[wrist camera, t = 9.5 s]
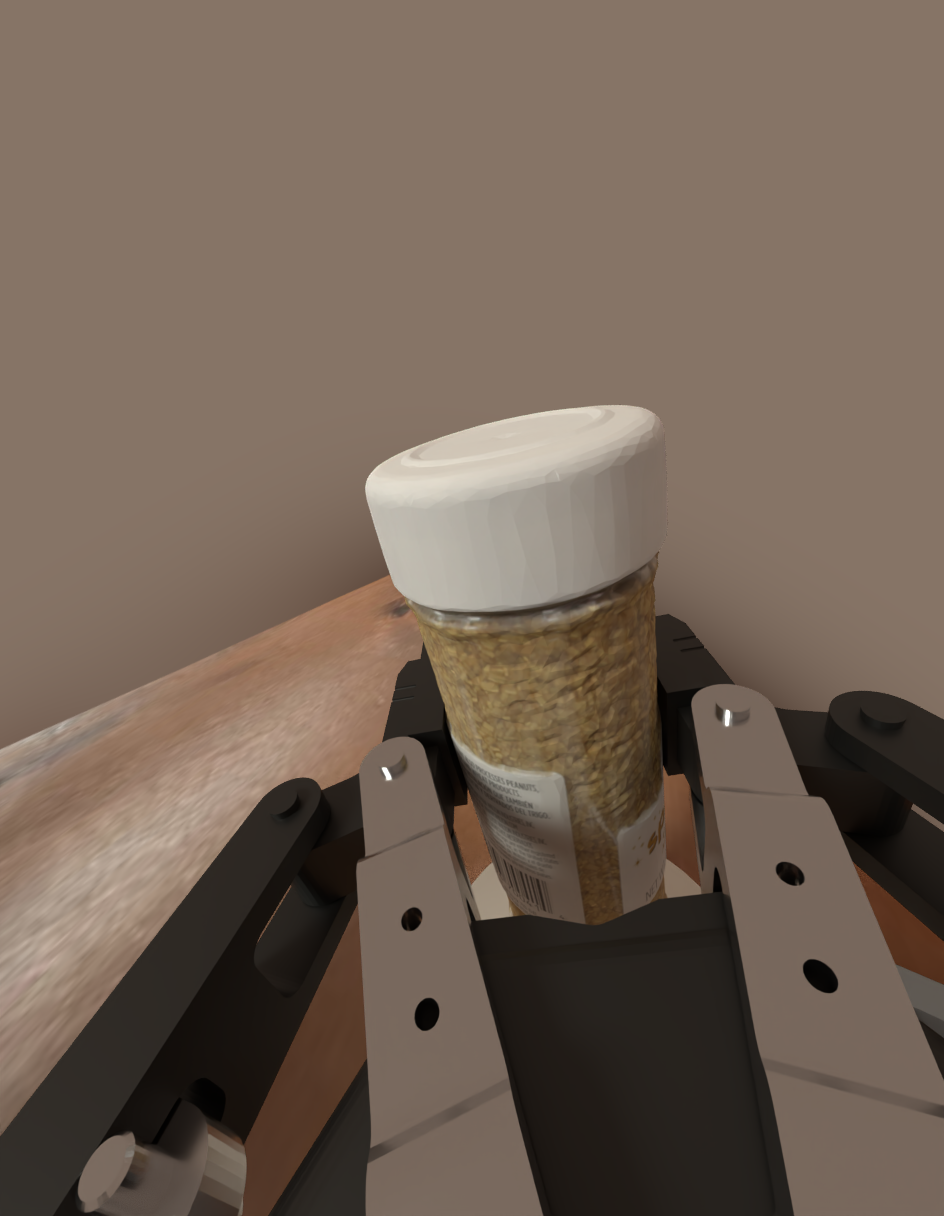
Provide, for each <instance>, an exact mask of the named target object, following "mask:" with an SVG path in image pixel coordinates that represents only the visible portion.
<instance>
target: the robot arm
mask: <svg viewBox="0 0 944 1216" xmlns="http://www.w3.org/2000/svg"><path fill="white" fill-rule="evenodd" d="M655 637H656V651H657V657H656V665H657V695H658V696H657V703H658V706H659V710H660V715H661V722H662V752H663V766H664V768H665V770H666V772H667V774H668V776H670V775H677V774H684V775H685V777H686V779H687V781H688V783H689V785H690V791H689V800H690V808H691V815H692V823H693V830H694V838H695V846H696V853H697V861H698V868H699V876H700V885H701V894H698V895H689V896H681V897H672V898H664V899H658V900H656V901H654V902H651V903H649V904H647V905H644V906H642V907H640V908H637V909H635V910H633V911H631V912H628V913H626V914H624V915H621V916H619V917H617V918H615V919H612V920H610V921H608V922H605V923H603V924H600V925H587V924H581V923H575V922H569V921H564V920H558V919H552V918H546V917H540V916H534V915H520V916H512V917H503V918H495V919H486V920H481V917H480V914H479V911H478V907H477V904H476V901H475V897H474V894H473V890H472V887H471V883H470V880H469V877H468V873H467V870H466V866H465V863H464V859H463V856H462V853H461V849H460V846H459V842H458V839H457V835H456V832H455V829H454V827H453V824H454V806H460V805H467V790H468V787H467V784H466V781H465V778H464V775H463V772H462V769H461V766H460V763H459V760H458V757H457V754H456V751H455V748H454V745H453V742H452V739H451V736H450V732H449V729H448V726H447V723H446V717H445V704H444V702H443V699H442V696H441V693H440V690H439V687H438V684H437V680H436V676H435V673H434V671H433V668H432V665H431V662H430V659H429V656H428V653H427V650H426V647H425V644H424V642H423V647H422V653H421V659H418V660H413V661H408V662H407V664H406V665H405V666H404V668H403V669H402V670H401V671H400V673H399V674H398V677H397V681H396V686H395V691H394V694H393V698H392V701H393V702H392V703H391V707H390V711H389V715H388V720H387V724H386V728H385V732H384V737H383V741H382V743H380V744H379V745H377V746H376V747H374V748H373V749H372V750H371V751H370V752H369V753H368V754H367V755H366V756H365V758H364V760H363V761H362V763H361V766H360V770H359V773H358V774H357V775H355V776H353V777H351V778H349V779H347V780H344V781H342V782H340V783H337V784H335V785H333V786H331V787H328V788H326V789H324V790H321V788H320V786H319V785H318V783H317V782H316V781H314V780H312V779H310V778H296V779H292V780H289V781H286V782H284V783H282V784H280V785H278V786H277V787H275V788H274V789H272V790H271V791H270V792H269V793H267V794H266V795H265V796H264V797H263V798H262V800H261V801H260V802H259V803H258V804H257V806H256V807H255V808H254V810H253V811H252V812H251V813H250V815H249V816H248V817H247V819H246V820H245V821H244V822H243V824H242V825H241V826H240V828H239V829H238V830H237V831H236V833H235V834H234V835H233V837H232V838H231V839H230V841H229V842H228V843H227V844H226V846H225V847H224V848H223V850H222V851H221V852H220V853H219V855H218V856H217V857H216V859H215V860H214V861H213V862H212V864H211V865H210V866H209V868H208V869H207V870H206V872H205V873H204V874H203V875H202V877H201V878H200V879H199V881H198V882H197V883H196V884H195V886H194V887H193V888H192V890H191V891H190V892H189V893H188V895H187V896H186V897H185V899H184V900H183V901H182V903H181V904H180V905H179V906H178V908H177V909H176V910H175V912H174V913H173V914H172V915H171V917H170V918H169V919H168V921H167V922H166V923H165V924H164V926H163V927H162V928H161V930H160V931H159V932H158V934H157V935H156V936H155V937H154V939H153V940H152V941H151V943H150V944H149V945H148V946H147V948H146V949H145V950H144V952H143V953H142V954H141V956H140V957H139V958H138V959H137V961H136V962H135V963H134V965H133V966H132V967H131V968H130V970H129V971H128V972H127V974H126V975H125V976H124V977H123V979H122V980H121V981H120V983H119V984H118V985H117V987H116V988H115V989H114V990H113V992H112V993H111V994H110V996H109V997H108V998H107V999H106V1001H105V1002H104V1003H103V1005H102V1006H101V1007H100V1008H99V1010H98V1011H97V1012H96V1014H95V1015H94V1016H93V1018H92V1019H91V1020H90V1021H89V1023H88V1024H87V1025H86V1027H85V1028H84V1029H83V1030H82V1032H81V1033H80V1034H79V1036H78V1037H77V1038H76V1039H75V1041H74V1042H73V1043H72V1045H71V1046H70V1047H69V1049H68V1050H67V1051H66V1052H65V1054H64V1055H63V1056H62V1058H61V1059H60V1060H59V1061H58V1063H57V1064H56V1065H55V1067H54V1068H53V1069H52V1070H51V1072H50V1073H49V1074H48V1076H47V1077H46V1078H45V1080H44V1081H43V1082H42V1083H41V1085H40V1086H39V1087H38V1089H37V1090H36V1091H35V1092H34V1094H33V1095H32V1096H31V1098H30V1099H29V1100H28V1101H27V1103H26V1104H25V1105H24V1107H23V1108H22V1109H21V1111H20V1112H19V1113H18V1114H17V1116H16V1117H15V1118H14V1120H13V1121H12V1122H11V1123H10V1125H9V1126H8V1127H7V1129H6V1130H5V1131H4V1132H3V1134H2V1135H1V1136H0V1216H242V1211H243V1194H244V1188H245V1182H246V1170H247V1166H246V1154H245V1149H244V1146H243V1145H244V1143H245V1141H246V1139H247V1137H248V1135H249V1133H250V1131H251V1128H252V1126H253V1124H254V1122H255V1120H256V1118H257V1116H258V1114H259V1111H260V1109H261V1107H262V1105H263V1103H264V1101H265V1099H266V1097H267V1094H268V1092H269V1090H270V1088H271V1086H272V1084H273V1082H274V1080H275V1078H276V1075H277V1073H278V1071H279V1069H280V1067H281V1065H282V1063H283V1061H284V1058H285V1056H286V1054H287V1052H288V1050H289V1048H290V1046H291V1044H292V1041H293V1039H294V1037H295V1035H296V1033H297V1031H298V1029H299V1027H300V1024H301V1022H302V1020H303V1018H304V1016H305V1014H306V1012H307V1010H308V1008H309V1005H310V1003H311V1001H312V999H313V997H314V995H315V993H316V991H317V988H318V986H319V984H320V982H321V980H322V978H323V976H324V974H325V971H326V969H327V967H328V965H329V963H330V961H331V959H332V957H333V954H334V952H335V950H336V948H337V946H338V944H339V942H340V940H341V938H342V935H343V933H344V931H345V929H346V927H347V925H348V923H349V921H350V918H351V916H352V914H353V912H354V910H355V908H356V906H357V904H358V910H359V927H360V944H361V961H362V978H363V995H364V1012H365V1029H366V1046H367V1059H366V1061H365V1062H364V1064H363V1066H362V1067H361V1069H360V1070H359V1072H358V1074H357V1075H356V1077H355V1078H354V1080H353V1082H352V1083H351V1085H350V1086H349V1088H348V1090H347V1091H346V1093H345V1094H344V1096H343V1098H342V1099H341V1101H340V1102H339V1104H338V1105H337V1107H336V1109H335V1110H334V1112H333V1113H332V1115H331V1117H330V1118H329V1120H328V1121H327V1123H326V1125H325V1126H324V1128H323V1129H322V1131H321V1133H320V1134H319V1136H318V1137H317V1139H316V1141H315V1142H314V1144H313V1145H312V1147H311V1149H310V1150H309V1152H308V1153H307V1155H306V1157H305V1158H304V1160H303V1161H302V1163H301V1164H300V1166H299V1168H298V1169H297V1171H296V1172H295V1174H294V1176H293V1177H292V1179H291V1180H290V1182H289V1184H288V1185H287V1187H286V1188H285V1190H284V1191H283V1193H282V1195H281V1196H280V1198H279V1199H278V1201H277V1203H276V1204H275V1206H274V1207H273V1209H272V1211H271V1212H270V1214H269V1215H268V1216H944V1038H943V1037H942V1036H941V1035H939V1034H938V1033H937V1032H935V1031H934V1030H933V1029H931V1028H930V1027H928V1026H927V1025H926V1024H924V1023H923V1022H922V1021H920V1020H919V1019H918V1018H917V1015H916V1013H915V1011H914V1008H913V1006H912V1003H911V1001H910V999H909V996H908V994H907V991H906V989H905V987H904V984H903V982H902V979H901V977H900V975H899V972H898V970H897V967H896V965H895V963H894V960H893V958H892V955H891V953H890V951H889V948H888V946H887V943H886V941H885V939H884V936H883V934H882V931H881V929H880V927H879V924H878V922H877V920H876V917H875V915H874V912H873V910H872V908H871V905H870V903H869V900H868V898H867V896H866V893H865V891H864V888H863V886H862V884H861V881H860V879H859V876H858V874H857V872H856V869H855V867H854V864H853V862H854V863H855V864H856V865H857V866H858V867H859V868H861V869H862V870H863V871H864V872H865V873H866V874H867V875H869V876H870V877H871V878H872V879H873V880H874V881H875V882H877V883H878V884H879V885H880V886H881V887H882V888H883V889H885V890H886V891H887V892H888V893H889V894H890V895H891V896H893V897H894V898H895V899H896V900H897V901H898V902H899V903H901V904H902V905H903V906H904V907H905V908H906V909H907V910H909V911H910V912H911V913H912V914H913V915H914V916H915V917H917V918H918V919H919V920H920V921H921V922H922V923H923V924H925V925H926V926H927V927H928V928H929V929H930V930H931V931H933V932H934V933H935V934H936V935H937V936H938V937H939V938H941V939H942V940H943V941H944V832H943V831H941V830H940V829H939V828H937V827H936V826H934V825H933V824H931V823H930V822H929V821H927V820H926V819H924V818H923V817H921V816H920V815H919V814H917V813H916V812H914V811H913V810H911V807H912V805H913V804H915V805H916V806H918V807H919V808H921V809H922V810H924V811H925V812H927V813H928V814H930V815H931V816H932V817H934V818H935V819H937V820H938V821H940V822H941V823H943V824H944V720H943V719H941V718H940V717H938V716H936V715H934V714H932V713H930V712H928V711H926V710H924V709H922V708H920V707H918V706H917V705H915V704H913V703H910V702H908V701H906V700H904V699H901V698H898V697H895V696H892V695H889V694H884V693H879V692H872V691H853V692H847V693H844V694H841V695H839V696H837V697H835V698H834V699H833V700H832V702H831V704H830V707H829V711H828V713H827V712H813V711H798V710H785V709H780V708H775V707H774V706H773V705H772V703H771V702H770V701H769V700H768V699H767V698H766V697H764V696H763V695H761V694H760V693H758V692H756V691H754V690H751V689H749V688H746V687H743V686H738V685H735V684H734V683H733V681H732V680H731V679H730V678H729V676H728V675H727V674H726V673H725V671H724V670H723V669H722V668H721V666H720V665H719V664H718V663H717V662H716V660H715V659H714V658H713V657H712V655H711V654H710V653H709V652H708V651H707V649H704V645H703V644H702V643H701V642H700V640H699V639H698V638H696V636H695V635H694V633H693V632H692V631H691V629H690V628H689V627H688V626H687V625H686V623H684V622H682V621H680V620H679V619H677V618H675V617H673V616H671V615H669V614H667V615H661V616H655ZM852 861H853V862H852ZM290 885H291V886H292V887H291V888H290V890H289V892H288V893H287V895H286V897H285V898H284V900H283V902H282V903H281V905H280V907H279V908H278V910H277V912H276V913H275V915H274V917H273V918H272V920H271V922H270V923H269V925H268V927H267V928H266V930H265V932H264V933H263V935H262V937H261V938H260V940H259V942H258V943H257V941H258V939H259V937H260V935H261V933H262V931H263V929H264V928H265V926H266V924H267V923H268V921H269V919H270V918H271V916H272V915H273V913H274V911H275V910H276V908H277V906H278V905H279V903H280V901H281V900H282V898H283V896H284V895H285V893H286V891H287V890H288V888H289V886H290ZM256 944H257V945H256Z"/></svg>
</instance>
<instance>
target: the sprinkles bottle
mask: <svg viewBox="0 0 944 1216" xmlns="http://www.w3.org/2000/svg"><path fill="white" fill-rule="evenodd" d="M365 491H366V497H367V501H368V505H369V508H370V511H371V515H372V519H373V522H374V526H375V529H376V532H377V535H378V538H379V542H380V545H381V548H382V551H383V555H384V557H385V561H386V564H387V567H388V569H389V572H390V575H391V578H392V581H393V584H394V586H395V587H396V588H397V589H398V590H399V591H400V592H401V593H402V594H403V595H404V596H405V601H406V604H407V605H408V607H409V608H410V609H411V610H412V611H413V612H414V614H415V616H416V618H417V622H418V626H419V629H420V632H421V635H422V638H423V641H424V644H425V647H426V650H427V653H428V656H429V659H430V662H431V665H432V668H433V671H434V673H435V676H436V680H437V684H438V687H439V690H440V693H441V696H442V699H443V702H444V704H445V717H446V723H447V726H448V729H449V732H450V736H451V739H452V742H453V745H454V748H455V751H456V754H457V757H458V760H459V763H460V766H461V769H462V772H463V775H464V778H465V781H466V784H467V787H468V790H469V793H470V796H471V799H472V802H473V805H474V808H475V811H476V814H477V817H478V820H479V823H480V826H481V829H482V832H483V835H484V838H485V841H486V844H487V847H488V850H489V853H490V856H491V859H492V862H493V865H494V868H495V871H496V873H497V876H498V879H499V881H500V883H501V885H502V887H503V889H504V890H505V892H506V894H507V897H508V900H509V913H510V917H512V916H520V915H534V916H540V917H546V918H552V919H558V920H564V921H569V922H575V923H581V924H587V925H600V924H603V923H605V922H608V921H610V920H612V919H615V918H617V917H619V916H621V915H624V914H626V913H628V912H631V911H633V910H635V909H637V908H640V907H642V906H644V905H647V904H649V903H651V902H654V901H656V900H658V899H664V898H668V897H667V894H666V893H665V883H664V871H665V865H666V832H665V808H664V784H663V752H662V722H661V715H660V710H659V706H658V703H657V696H658V695H657V665H656V657H657V651H656V637H655V606H654V602H655V591H654V586H653V581H654V578H655V574H656V570H657V567H658V560H657V558H658V553H659V550H660V549H661V547H662V545H663V543H664V541H665V538H666V536H667V525H668V519H667V515H668V513H667V471H666V451H665V434H664V427H663V424H662V422H661V420H660V419H659V418H658V417H657V415H655V414H654V413H653V412H651V411H649V410H647V409H645V408H641V407H635V406H626V405H605V406H591V407H582V408H571V409H561V410H555V411H547V412H541V413H535V414H530V415H524V416H519V417H514V418H510V419H505V420H501V421H496V422H493V423H488V424H484V425H481V426H477V427H474V428H470V429H466V430H463V431H459V432H456V433H453V434H451V435H447V436H444V437H441V438H438V439H436V440H433V441H430V442H427V443H424V444H421V445H419V446H417V447H414V448H411V449H409V450H406V451H404V452H402V453H400V454H398V455H396V456H393V457H391V458H390V459H388V460H386V461H385V462H383V463H382V464H380V465H378V466H377V468H375V470H374V471H373V472H372V473H371V474H370V475H369V477H368V479H367V482H366V487H365Z"/></svg>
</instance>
